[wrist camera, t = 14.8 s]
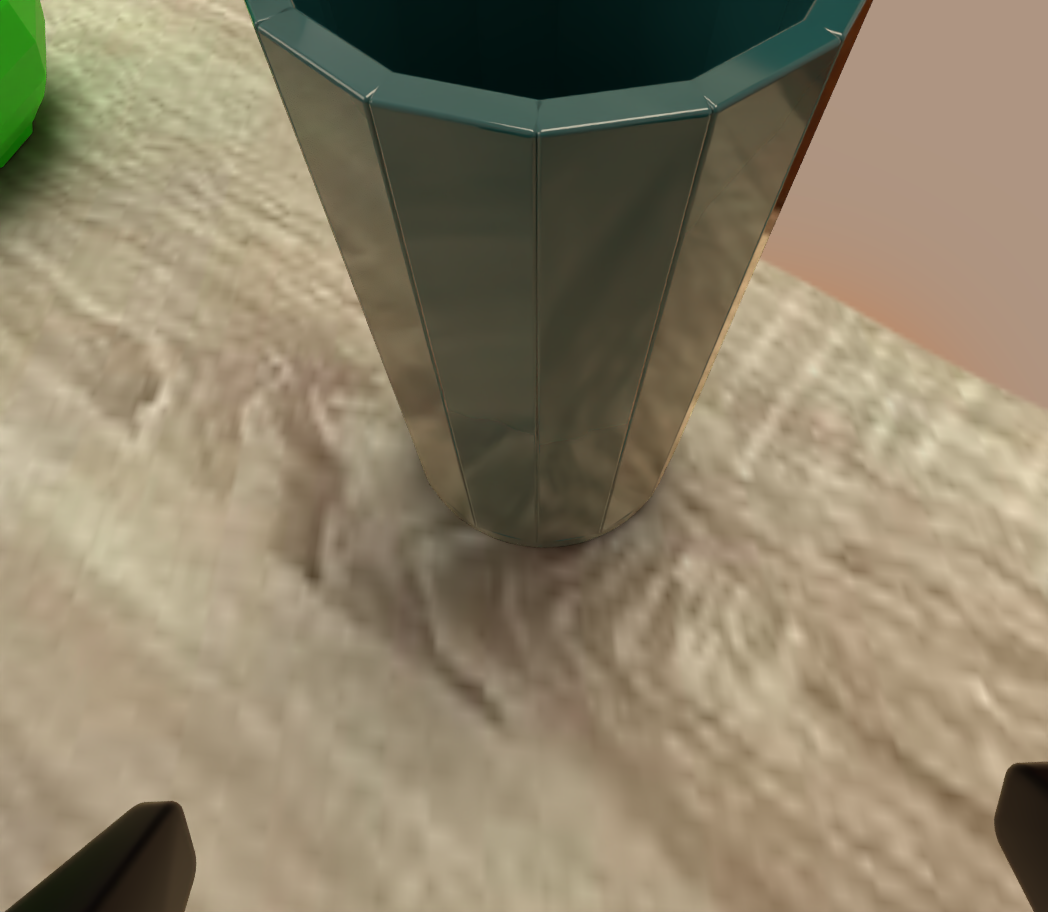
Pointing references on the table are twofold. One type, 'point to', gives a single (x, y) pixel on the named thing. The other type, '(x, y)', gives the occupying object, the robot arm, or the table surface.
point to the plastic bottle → (20, 71)
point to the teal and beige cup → (552, 219)
